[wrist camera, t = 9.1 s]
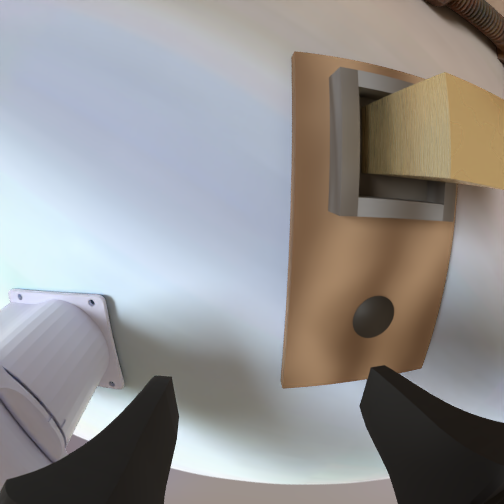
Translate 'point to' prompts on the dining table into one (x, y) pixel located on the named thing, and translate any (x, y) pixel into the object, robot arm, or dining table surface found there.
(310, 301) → the socket board
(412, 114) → the wooden bar
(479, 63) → the dining table surface
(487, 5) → the bolt
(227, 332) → the dining table surface
